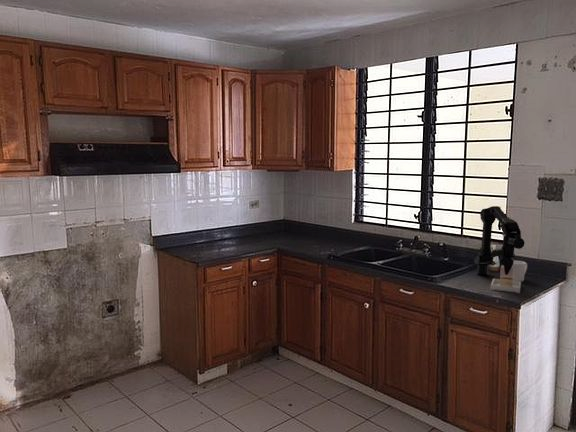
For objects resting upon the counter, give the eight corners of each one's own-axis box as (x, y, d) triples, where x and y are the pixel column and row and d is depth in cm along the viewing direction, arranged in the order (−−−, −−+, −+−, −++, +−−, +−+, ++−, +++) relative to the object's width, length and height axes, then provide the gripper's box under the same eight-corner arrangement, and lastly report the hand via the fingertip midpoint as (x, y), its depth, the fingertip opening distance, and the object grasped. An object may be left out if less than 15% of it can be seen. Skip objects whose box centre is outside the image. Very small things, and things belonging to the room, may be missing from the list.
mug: (514, 282, 267) (515, 264, 266) (504, 278, 276) (505, 260, 275) (531, 281, 270) (532, 263, 268) (520, 277, 278) (522, 259, 277)
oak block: (500, 284, 261) (500, 275, 260) (512, 286, 258) (512, 277, 257) (499, 287, 255) (499, 278, 255) (511, 289, 253) (512, 280, 252)
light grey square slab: (492, 282, 266) (493, 278, 266) (520, 286, 260) (520, 281, 259) (490, 289, 254) (490, 284, 253) (519, 293, 247) (520, 288, 247)
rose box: (500, 273, 260) (501, 265, 259) (513, 274, 257) (513, 266, 256) (500, 276, 254) (500, 267, 254) (512, 277, 252) (513, 269, 251)
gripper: (493, 240, 265) (491, 267, 267) (490, 246, 249) (488, 275, 251) (515, 242, 260) (513, 270, 262) (514, 248, 244) (512, 278, 246)
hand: (506, 273), depth 256 cm, fingers closed on rose box, 6 cm apart
